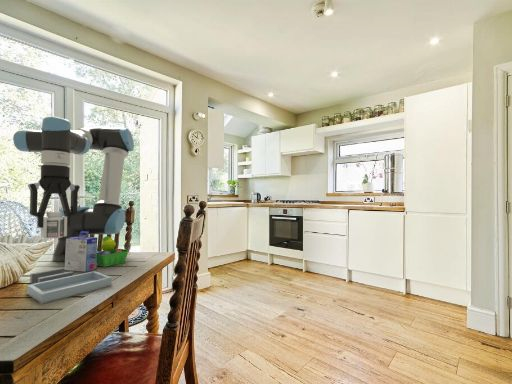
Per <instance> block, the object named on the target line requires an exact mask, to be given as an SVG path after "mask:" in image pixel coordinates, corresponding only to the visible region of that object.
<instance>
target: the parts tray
mask: <svg viewBox="0 0 512 384" xmlns="http://www.w3.org/2000/svg"><path fill="white" fill-rule="evenodd" d="M111 286H113V276H110V275H107V274H104V273H101V272H98V271H96V270H93V271H92V270H91V271H87V272H85V273H80V274H74V275H73V276H69V277H64V278H59V279H54V280H50V281H45V282H40V283H33V284H31V283H30V284H27V288H26V291H27V292H26V293H27V295H28V296H30V297H31V298H32V299H34V300H35V301H36V302H38V303H39V304H40V305H43V304H47V303H50V302H54V301H57V300H62V299H65V298H70V297H73V296H76V295H81V294H83V293H88V292H89V293H90V292H91V291H96V290H99V289H103V288H107V287H111Z"/></svg>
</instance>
